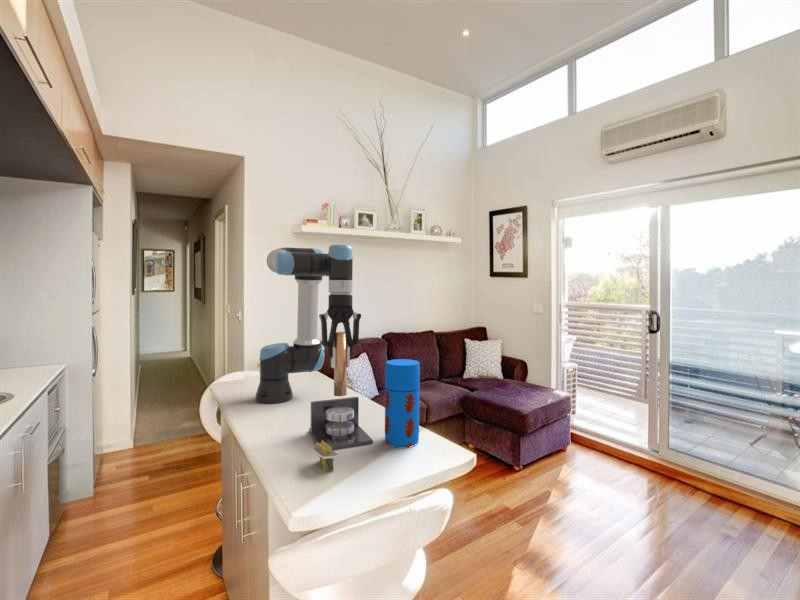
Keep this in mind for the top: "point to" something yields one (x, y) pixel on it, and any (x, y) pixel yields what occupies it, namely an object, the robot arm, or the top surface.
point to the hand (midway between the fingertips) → (340, 366)
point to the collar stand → (337, 423)
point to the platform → (325, 455)
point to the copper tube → (340, 364)
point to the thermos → (402, 402)
